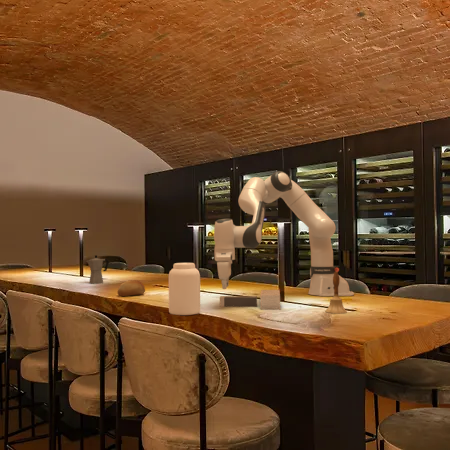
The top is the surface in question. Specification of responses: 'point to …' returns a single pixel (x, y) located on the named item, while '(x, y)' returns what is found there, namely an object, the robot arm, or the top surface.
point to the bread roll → (131, 288)
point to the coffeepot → (96, 269)
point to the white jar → (184, 289)
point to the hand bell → (336, 298)
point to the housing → (270, 300)
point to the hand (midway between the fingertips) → (225, 287)
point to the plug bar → (238, 301)
